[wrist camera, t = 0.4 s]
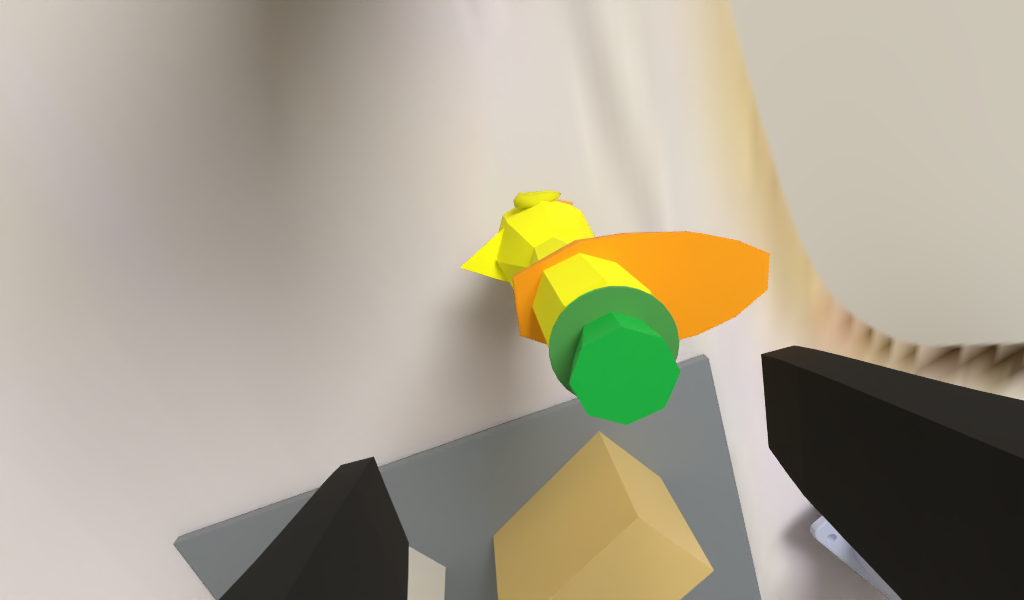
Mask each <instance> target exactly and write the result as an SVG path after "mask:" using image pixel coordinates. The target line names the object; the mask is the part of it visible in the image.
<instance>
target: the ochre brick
mask: <svg viewBox="0 0 1024 600" xmlns="http://www.w3.org/2000/svg"><path fill="white" fill-rule="evenodd" d="M493 538H494V551H495V565H496V578H497V591H498V600H680V599H682V598H683V597H684V596H685V595H686V594H687V593H689V592H690V591H691V590H692V589H693V588H694V587H695V586H697V585H698V584H699V583H700V582H701V581H702V580H704V579H705V578H706V577H707V576H708V575H709V574H711V573H712V572H713V571H714V570H713V568H712V566H711V564H710V563H709V561H708V559H707V557H706V556H705V554H704V552H703V550H702V549H701V547H700V545H699V543H698V542H697V540H696V538H695V537H694V535H693V533H692V531H691V530H690V528H689V526H688V524H687V523H686V521H685V519H684V517H683V516H682V514H681V512H680V510H679V509H678V507H677V505H676V503H675V502H674V500H673V498H672V496H671V495H670V493H669V491H668V490H667V488H666V486H665V484H664V483H663V481H662V479H661V478H660V477H659V476H658V475H657V474H655V473H654V472H653V471H651V470H650V469H649V468H647V467H646V466H645V465H643V464H642V463H641V462H639V461H638V460H637V459H635V458H634V457H633V456H631V455H630V454H629V453H627V452H626V451H625V450H623V449H622V448H621V447H619V446H618V445H617V444H615V443H614V442H613V441H611V440H610V439H609V438H607V437H606V436H605V435H603V434H602V433H601V432H600V431H599V432H598V433H597V434H596V435H595V436H594V437H593V438H592V439H591V440H590V441H589V442H588V443H587V444H586V445H585V446H584V447H582V448H581V449H580V450H579V451H578V452H577V453H576V454H575V455H574V456H573V457H572V458H571V459H570V460H569V461H568V462H567V463H566V464H565V465H564V466H563V467H562V468H561V469H560V470H559V471H558V472H557V473H556V474H555V475H554V476H553V477H552V478H551V479H550V480H549V481H548V482H547V483H546V484H545V485H544V486H543V487H542V488H541V489H540V490H539V491H538V492H537V493H536V494H535V495H534V496H533V497H532V498H531V499H530V500H529V501H528V502H527V503H526V504H525V505H524V506H523V507H522V508H521V509H520V510H519V511H518V512H517V513H516V514H515V515H514V516H513V517H512V518H511V519H510V520H509V521H508V522H507V523H506V524H505V525H504V526H503V527H502V528H501V529H500V530H499V531H498V532H497V533H496V534H495V535H494V536H493Z"/></svg>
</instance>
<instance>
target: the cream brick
mask: <svg viewBox="0 0 1024 600" xmlns="http://www.w3.org/2000/svg"><path fill="white" fill-rule="evenodd" d="M445 570H446V567H444V566H443V565H441V564H439V563H437V562H436V561H434V560H432V559H430V558H429V557H427V556H425V555H423V554H422V553H420V552H418V551H416V550H415V549H413V548H411V547H409V572H408V598H407V600H444V595H445Z"/></svg>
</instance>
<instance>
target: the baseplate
mask: <svg viewBox="0 0 1024 600" xmlns="http://www.w3.org/2000/svg"><path fill="white" fill-rule="evenodd" d="M677 366H678V368H679V370H680V372H681V373H680V375H679V377H678V379H677V382H676V384H675V386H674V389H673V391H672V393H671V395H670V398H669V400H668V402H667V404H666V407H665V408H664V409H661V410H659V411H657V412H655V413H653V414H650V415H648V416H646V417H644V418H642V419H639V420H637V421H635V422H633V423H631V424H628V425H625V424H621V423H617V422H613V421H609V420H605V419H601V418H597V417H593V416H589V415H588V414H587V413H586V411H585V409H584V408H583V406H582V404H581V402H580V401H579V399H578V398H576V399H573V400H571V401H568V402H565V403H562V404H559V405H556V406H553V407H550V408H548V409H545V410H542V411H539V412H536V413H533V414H530V415H527V416H525V417H522V418H519V419H516V420H513V421H510V422H507V423H504V424H502V425H499V426H496V427H493V428H490V429H487V430H484V431H481V432H479V433H476V434H473V435H470V436H467V437H464V438H461V439H458V440H456V441H453V442H450V443H447V444H444V445H441V446H438V447H436V448H433V449H430V450H427V451H424V452H421V453H418V454H415V455H413V456H410V457H407V458H404V459H401V460H398V461H395V462H392V463H390V464H387V465H384V466H381V467H378V468H379V471H380V473H381V476H382V478H383V481H384V483H385V485H386V488H387V490H388V493H389V495H390V498H391V500H392V503H393V505H394V507H395V510H396V512H397V515H398V517H399V520H400V522H401V525H402V527H403V529H404V532H405V534H406V537H407V539H408V542H409V547H411V548H413V549H415V550H416V551H418V552H420V553H422V554H423V555H425V556H427V557H429V558H430V559H432V560H434V561H436V562H437V563H439V564H441V565H443V566H444V567H446V570H445V595H444V600H498V591H497V578H496V565H495V551H494V538H493V536H494V535H495V534H496V533H497V532H498V531H499V530H500V529H501V528H502V527H503V526H504V525H505V524H506V523H507V522H508V521H509V520H510V519H511V518H512V517H513V516H514V515H515V514H516V513H517V512H518V511H519V510H520V509H521V508H522V507H523V506H524V505H525V504H526V503H527V502H528V501H529V500H530V499H531V498H532V497H533V496H534V495H535V494H536V493H537V492H538V491H539V490H540V489H541V488H542V487H543V486H544V485H545V484H546V483H547V482H548V481H549V480H550V479H551V478H552V477H553V476H554V475H555V474H556V473H557V472H558V471H559V470H560V469H561V468H562V467H563V466H564V465H565V464H566V463H567V462H568V461H569V460H570V459H571V458H572V457H573V456H574V455H575V454H576V453H577V452H578V451H579V450H580V449H581V448H582V447H584V446H585V445H586V444H587V443H588V442H589V441H590V440H591V439H592V438H593V437H594V436H595V435H596V434H597V433H598V432H599V431H600V432H601V433H602V434H603V435H605V436H606V437H607V438H609V439H610V440H611V441H613V442H614V443H615V444H617V445H618V446H619V447H621V448H622V449H623V450H625V451H626V452H627V453H629V454H630V455H631V456H633V457H634V458H635V459H637V460H638V461H639V462H641V463H642V464H643V465H645V466H646V467H647V468H649V469H650V470H651V471H653V472H654V473H655V474H657V475H658V476H659V477H660V478H661V479H662V481H663V483H664V484H665V486H666V488H667V490H668V491H669V493H670V495H671V496H672V498H673V500H674V502H675V503H676V505H677V507H678V509H679V510H680V512H681V514H682V516H683V517H684V519H685V521H686V523H687V524H688V526H689V528H690V530H691V531H692V533H693V535H694V537H695V538H696V540H697V542H698V543H699V545H700V547H701V549H702V550H703V552H704V554H705V556H706V557H707V559H708V561H709V563H710V564H711V566H712V568H713V570H714V571H713V572H712V573H711V574H709V575H708V576H707V577H706V578H705V579H704V580H702V581H701V582H700V583H699V584H698V585H697V586H695V587H694V588H693V589H692V590H691V591H690V592H689V593H687V594H686V595H685V596H684V597H683V598H682V599H680V600H761V596H760V592H759V587H758V582H757V578H756V573H755V569H754V564H753V560H752V555H751V550H750V546H749V541H748V537H747V532H746V528H745V523H744V518H743V514H742V509H741V505H740V500H739V496H738V491H737V487H736V482H735V477H734V473H733V468H732V464H731V459H730V455H729V450H728V445H727V441H726V436H725V432H724V427H723V423H722V418H721V413H720V409H719V404H718V400H717V395H716V391H715V386H714V381H713V377H712V372H711V368H710V363H709V359H708V357H707V356H705V355H704V354H703V355H700V356H697V357H694V358H691V359H688V360H686V361H683V362H680V363H677ZM318 489H319V488H318ZM318 489H315V490H312V491H309V492H306V493H303V494H300V495H298V496H295V497H292V498H289V499H286V500H283V501H280V502H277V503H275V504H272V505H269V506H266V507H263V508H260V509H257V510H254V511H252V512H249V513H246V514H243V515H240V516H237V517H234V518H231V519H229V520H226V521H223V522H220V523H217V524H214V525H211V526H208V527H206V528H203V529H200V530H197V531H194V532H191V533H188V534H185V535H183V536H180V537H178V538H177V540H176V541H175V543H174V546H175V547H176V548H177V550H178V551H179V552H180V554H181V555H182V556H183V558H184V559H185V560H186V562H187V563H188V564H189V565H190V567H191V568H192V569H193V571H194V572H195V573H196V575H197V576H198V577H199V579H200V580H201V581H202V582H203V584H204V585H205V586H206V588H207V589H208V590H209V592H210V593H211V594H212V596H213V597H214V598H215V599H216V600H219V599H220V598H221V597H222V596H223V595H224V594H225V592H226V591H227V590H228V589H229V588H230V587H231V586H232V585H233V584H234V583H235V582H236V581H237V580H238V579H239V578H240V577H241V575H242V574H243V573H244V572H245V571H246V570H247V569H248V568H249V567H250V566H251V565H252V564H253V563H254V562H255V561H256V559H257V558H258V557H259V556H260V555H261V554H262V553H263V552H264V550H265V549H266V548H267V547H268V546H269V545H270V544H271V542H272V541H273V540H274V539H275V538H276V537H277V536H278V535H279V533H280V532H281V531H282V530H283V529H284V528H285V527H286V525H287V524H288V523H289V522H290V521H291V520H292V519H293V517H294V516H295V515H296V514H297V513H298V512H299V511H300V509H301V508H302V507H303V506H304V505H305V504H306V503H307V501H308V500H309V499H310V498H311V497H312V496H313V495H314V493H315V492H316V491H317V490H318Z"/></svg>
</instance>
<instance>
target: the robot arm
mask: <svg viewBox="0 0 1024 600" xmlns="http://www.w3.org/2000/svg"><path fill="white" fill-rule="evenodd" d="M761 358H762V370H763V382H764V395H765V407H766V420H767V432H768V445H769V448H770V450H771V451H772V453H773V454H774V455H775V457H776V458H777V460H778V461H779V463H780V464H781V465H782V467H783V468H784V470H785V471H786V472H787V474H788V475H789V476H790V478H791V479H792V480H793V482H794V483H795V484H796V486H797V487H798V488H799V490H800V491H801V492H802V494H803V495H804V496H805V497H806V498H807V499H808V500H809V502H810V503H811V504H812V505H813V506H814V507H815V508H816V509H817V510H818V511H819V512H820V514H821V515H822V516H821V517H820V518H818V519H817V520H816V521H815V522H814V523H813V524H812V525H811V527H810V533H811V534H812V536H813V537H814V538H815V539H816V540H817V541H818V542H820V543H821V544H822V545H823V546H824V547H826V548H827V549H828V550H829V551H831V552H832V553H833V554H834V555H836V556H837V557H838V558H839V559H841V560H842V561H843V562H844V563H845V564H847V565H848V566H849V567H850V568H852V569H853V570H854V571H855V572H857V573H858V574H859V575H860V576H862V577H863V578H864V579H865V580H866V581H868V582H869V583H870V584H871V585H873V586H874V587H875V588H876V589H878V590H879V591H880V592H881V593H883V594H884V595H885V596H886V597H887V598H889V599H890V600H1024V401H1023V400H1019V399H1014V398H1010V397H1005V396H1001V395H996V394H992V393H987V392H982V391H978V390H974V389H970V388H966V387H962V386H957V385H953V384H949V383H945V382H941V381H937V380H933V379H929V378H925V377H921V376H917V375H913V374H910V373H906V372H902V371H898V370H894V369H890V368H887V367H883V366H879V365H875V364H871V363H868V362H864V361H860V360H856V359H852V358H848V357H844V356H840V355H836V354H832V353H828V352H824V351H820V350H815V349H811V348H805V347H800V346H791V347H787V348H783V349H779V350H775V351H772V352H768V353H764V354H761ZM408 572H409V542H408V539H407V537H406V534H405V532H404V529H403V527H402V525H401V522H400V520H399V517H398V515H397V512H396V510H395V507H394V505H393V503H392V500H391V498H390V495H389V493H388V490H387V488H386V485H385V483H384V481H383V478H382V476H381V473H380V471H379V468H378V466H377V464H376V461H375V459H374V457H370V458H366V459H363V460H359V461H355V462H351V463H348V464H344V465H341V466H340V467H339V468H338V469H337V470H336V471H335V472H334V473H333V474H332V475H331V476H330V477H329V478H328V479H327V480H326V481H325V482H324V483H323V484H322V485H321V487H320V488H319V489H318V490H317V491H316V492H315V493H314V495H313V496H312V497H311V498H310V499H309V500H308V501H307V503H306V504H305V505H304V506H303V507H302V508H301V509H300V511H299V512H298V513H297V514H296V515H295V516H294V517H293V519H292V520H291V521H290V522H289V523H288V524H287V525H286V527H285V528H284V529H283V530H282V531H281V532H280V533H279V535H278V536H277V537H276V538H275V539H274V540H273V541H272V542H271V544H270V545H269V546H268V547H267V548H266V549H265V550H264V552H263V553H262V554H261V555H260V556H259V557H258V558H257V559H256V561H255V562H254V563H253V564H252V565H251V566H250V567H249V568H248V569H247V570H246V571H245V572H244V573H243V574H242V575H241V577H240V578H239V579H238V580H237V581H236V582H235V583H234V584H233V585H232V586H231V587H230V588H229V589H228V590H227V591H226V592H225V594H224V595H223V596H222V597H221V598H220V599H219V600H407V598H408Z"/></svg>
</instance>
